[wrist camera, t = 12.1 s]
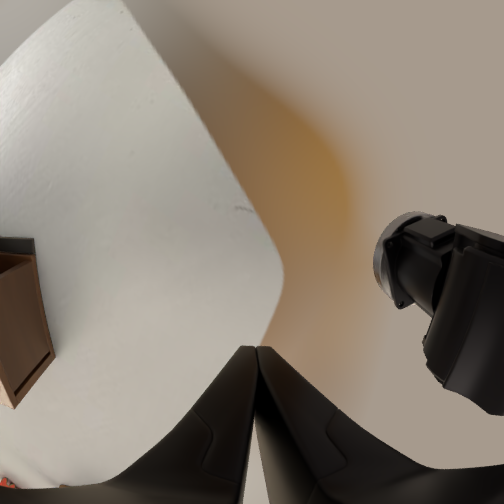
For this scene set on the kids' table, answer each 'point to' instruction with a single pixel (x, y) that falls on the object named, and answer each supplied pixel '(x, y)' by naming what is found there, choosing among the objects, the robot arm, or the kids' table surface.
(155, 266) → the kids' table surface
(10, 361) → the cabinet
